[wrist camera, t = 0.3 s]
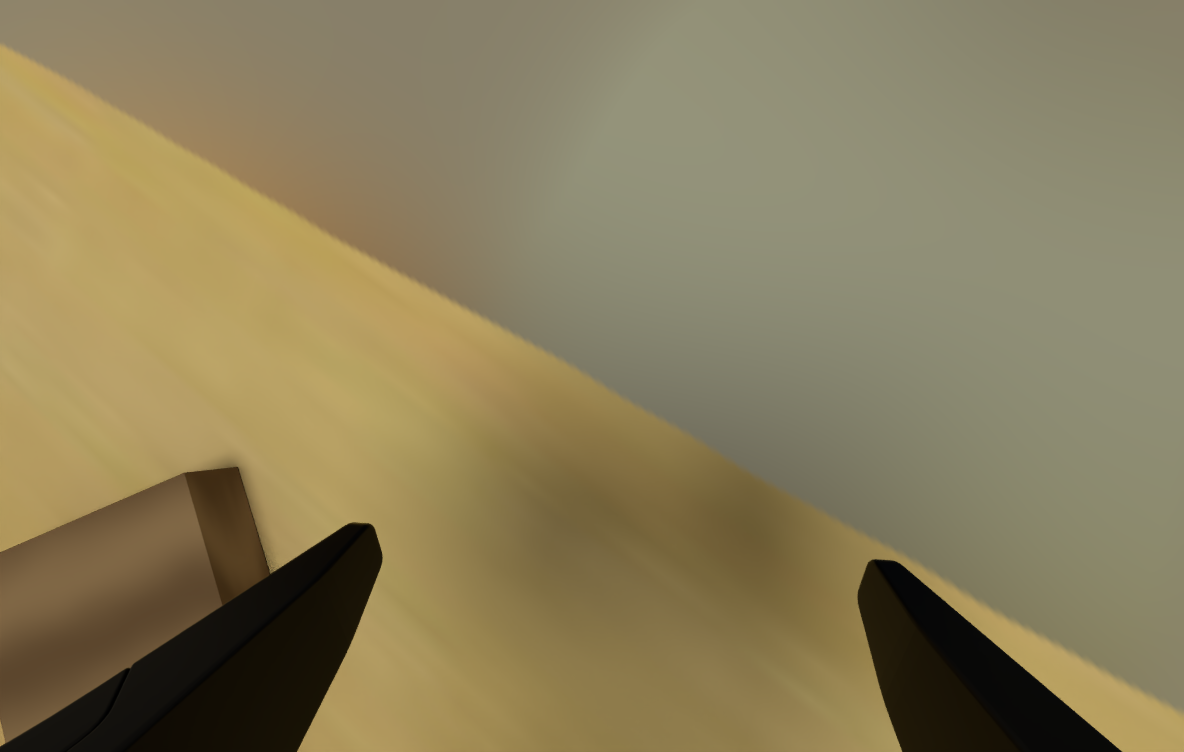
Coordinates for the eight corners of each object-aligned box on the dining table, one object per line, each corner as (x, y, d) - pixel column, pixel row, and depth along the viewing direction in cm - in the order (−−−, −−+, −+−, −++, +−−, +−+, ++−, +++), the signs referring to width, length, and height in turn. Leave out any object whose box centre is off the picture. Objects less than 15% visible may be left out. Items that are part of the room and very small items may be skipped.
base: (306, 693, 24) (258, 731, 21) (97, 776, 25) (23, 824, 22) (237, 466, 26) (184, 472, 23) (43, 550, 26) (-34, 566, 23)
